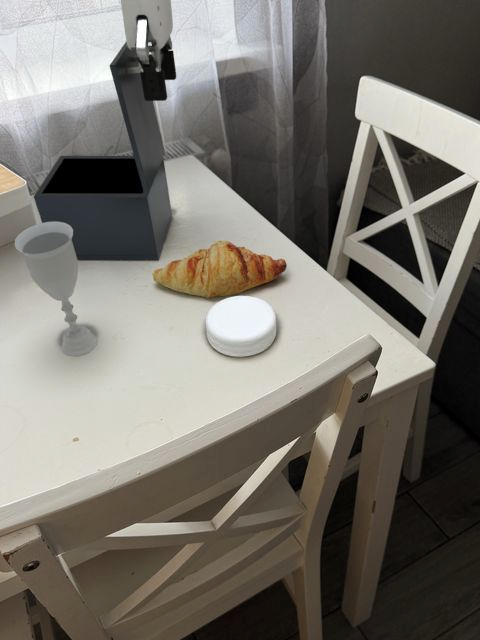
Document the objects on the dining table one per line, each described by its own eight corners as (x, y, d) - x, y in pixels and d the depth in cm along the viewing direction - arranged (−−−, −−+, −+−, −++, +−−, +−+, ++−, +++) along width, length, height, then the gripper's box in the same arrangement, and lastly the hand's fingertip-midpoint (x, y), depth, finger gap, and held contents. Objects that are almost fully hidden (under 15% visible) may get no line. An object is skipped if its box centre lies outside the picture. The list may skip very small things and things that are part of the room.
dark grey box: (54, 260, 101) (33, 196, 93) (77, 216, 111) (60, 155, 103) (158, 260, 100) (147, 196, 92) (172, 216, 110) (163, 155, 102)
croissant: (157, 313, 95) (147, 293, 88) (154, 257, 98) (145, 233, 91) (289, 301, 96) (290, 280, 88) (282, 245, 99) (283, 221, 91)
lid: (109, 65, 79) (146, 61, 78) (131, 32, 89) (165, 29, 88) (144, 194, 91) (176, 191, 91) (160, 153, 102) (189, 150, 101)
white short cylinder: (215, 309, 90) (213, 291, 88) (280, 315, 89) (280, 296, 87) (200, 355, 83) (197, 336, 81) (270, 361, 82) (270, 343, 79)
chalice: (79, 321, 89) (46, 216, 77) (114, 336, 87) (85, 230, 74) (43, 351, 85) (1, 244, 72) (78, 367, 82) (41, 260, 70)
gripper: (126, -67, 81) (147, 69, 94) (93, -39, 69) (122, 113, 81) (180, -69, 81) (194, 68, 93) (157, -41, 68) (177, 113, 81)
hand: (161, 88), depth 87 cm, fingers open, 7 cm apart
